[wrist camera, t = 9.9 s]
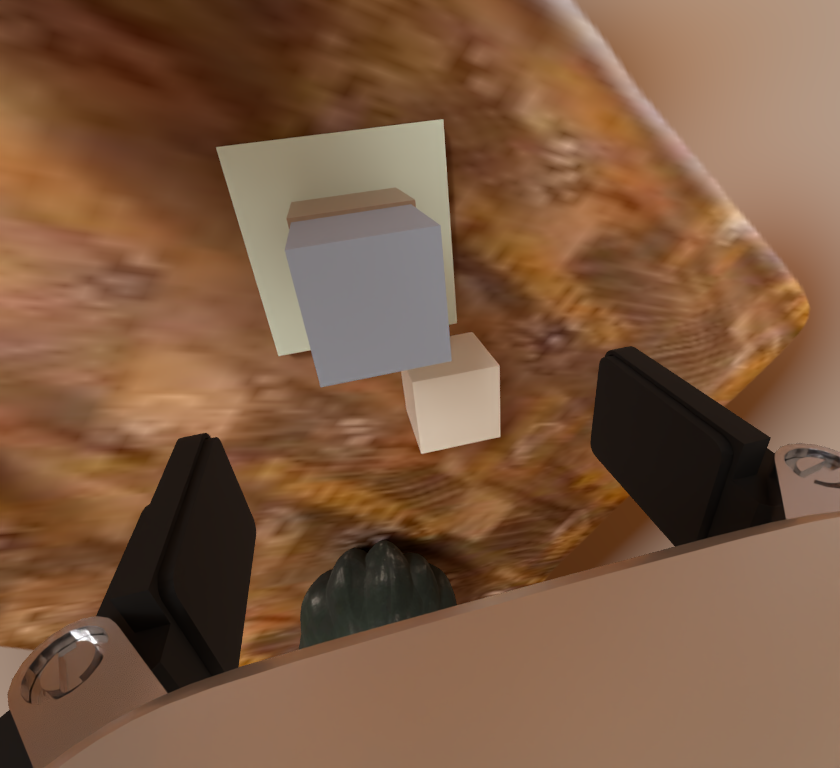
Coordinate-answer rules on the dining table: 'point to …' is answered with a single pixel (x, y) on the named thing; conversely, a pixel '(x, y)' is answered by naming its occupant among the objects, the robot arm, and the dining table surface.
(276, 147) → the baseplate
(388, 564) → the squash
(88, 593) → the dining table surface
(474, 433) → the cream brick
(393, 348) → the slate brick
